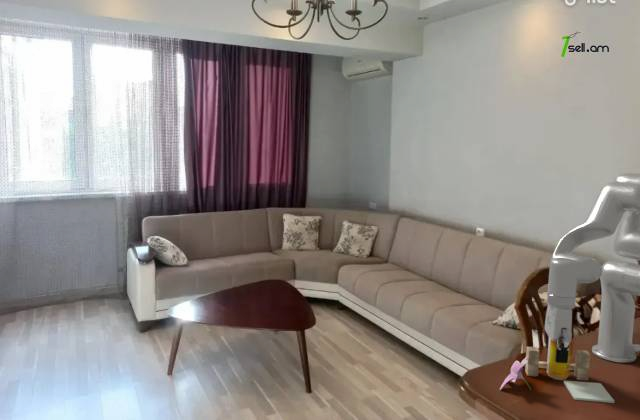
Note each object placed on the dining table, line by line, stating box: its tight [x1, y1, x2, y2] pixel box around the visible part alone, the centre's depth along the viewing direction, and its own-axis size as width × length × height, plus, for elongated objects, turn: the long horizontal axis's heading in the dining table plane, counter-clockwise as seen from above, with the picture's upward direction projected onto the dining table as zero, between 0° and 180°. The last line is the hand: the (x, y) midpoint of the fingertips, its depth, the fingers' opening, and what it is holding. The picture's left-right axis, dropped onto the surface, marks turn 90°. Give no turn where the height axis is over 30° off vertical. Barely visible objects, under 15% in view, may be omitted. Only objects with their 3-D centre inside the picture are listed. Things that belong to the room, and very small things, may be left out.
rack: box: [521, 346, 591, 381], centre depth 153 cm, size 17×8×8 cm, turn 80°
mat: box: [563, 380, 615, 404], centre depth 141 cm, size 10×10×1 cm
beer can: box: [546, 331, 573, 381], centre depth 150 cm, size 6×6×15 cm
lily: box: [499, 355, 532, 391], centre depth 143 cm, size 12×12×10 cm
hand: (556, 355), depth 150 cm, fingers open, 9 cm apart
